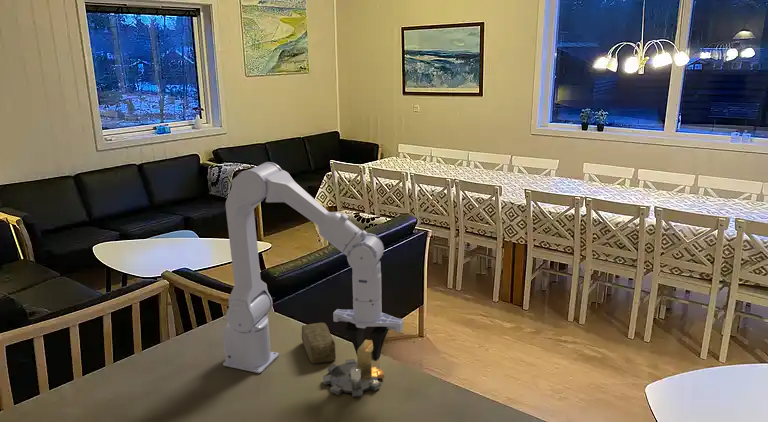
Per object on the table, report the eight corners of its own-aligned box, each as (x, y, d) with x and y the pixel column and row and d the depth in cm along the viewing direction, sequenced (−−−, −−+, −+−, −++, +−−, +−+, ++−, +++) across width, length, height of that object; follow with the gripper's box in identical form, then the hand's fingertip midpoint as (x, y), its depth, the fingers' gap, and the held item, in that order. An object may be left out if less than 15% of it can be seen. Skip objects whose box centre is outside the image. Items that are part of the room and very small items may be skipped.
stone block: (311, 367, 117) (310, 346, 116) (301, 342, 128) (299, 323, 126) (337, 362, 119) (336, 341, 118) (325, 338, 130) (324, 319, 128)
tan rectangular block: (357, 376, 111) (357, 349, 110) (366, 364, 115) (365, 339, 114) (371, 378, 110) (371, 352, 109) (379, 367, 114) (379, 341, 113)
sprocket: (325, 399, 105) (324, 379, 104) (321, 365, 117) (320, 347, 116) (388, 392, 107) (388, 372, 106) (378, 359, 119) (378, 341, 118)
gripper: (325, 299, 107) (328, 360, 111) (395, 309, 102) (395, 373, 106) (340, 285, 113) (342, 343, 117) (406, 294, 109) (406, 355, 112)
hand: (368, 356), depth 112 cm, fingers closed on tan rectangular block, 3 cm apart
